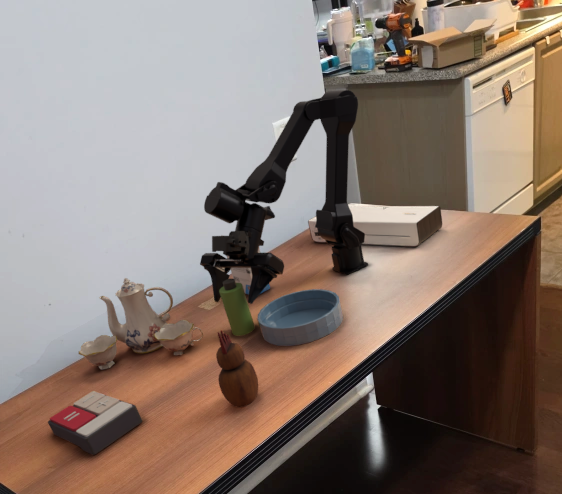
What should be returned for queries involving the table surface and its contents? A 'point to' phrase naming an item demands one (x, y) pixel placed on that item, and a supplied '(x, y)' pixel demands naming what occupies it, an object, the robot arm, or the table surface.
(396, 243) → the laminator
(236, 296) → the green bottle
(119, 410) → the calculator
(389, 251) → the table surface
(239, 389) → the wooden figurine
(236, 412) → the table surface
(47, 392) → the table surface
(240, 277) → the ink box
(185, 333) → the chinaware
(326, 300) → the basin
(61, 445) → the table surface
